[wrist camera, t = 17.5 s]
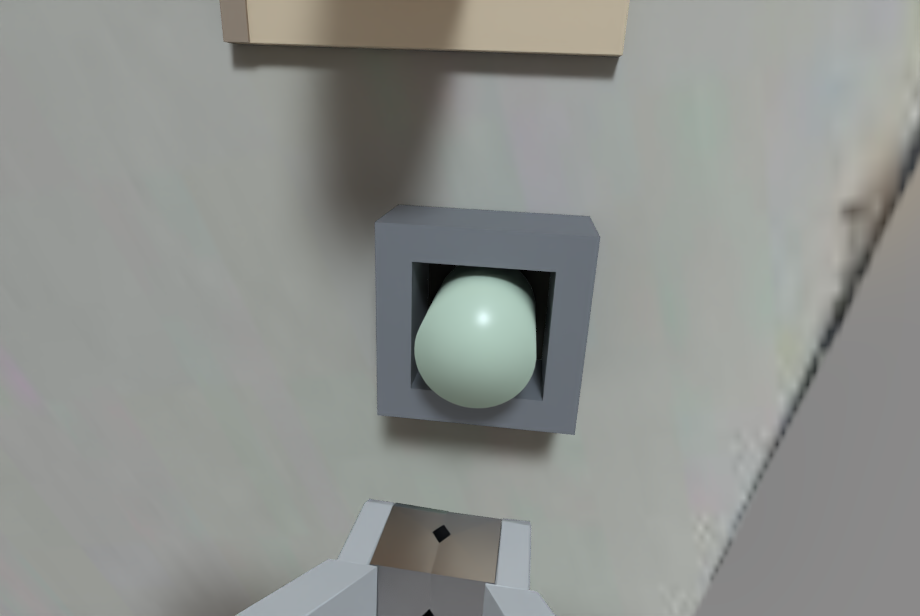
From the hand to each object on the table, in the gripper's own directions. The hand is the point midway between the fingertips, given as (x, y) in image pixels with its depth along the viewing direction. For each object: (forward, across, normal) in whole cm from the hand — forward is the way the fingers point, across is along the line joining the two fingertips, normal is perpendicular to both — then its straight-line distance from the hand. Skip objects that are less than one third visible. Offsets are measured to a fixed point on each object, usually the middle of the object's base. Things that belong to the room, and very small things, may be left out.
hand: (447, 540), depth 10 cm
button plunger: (+10, 0, -1) cm, 10 cm away
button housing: (+10, 0, -2) cm, 11 cm away
